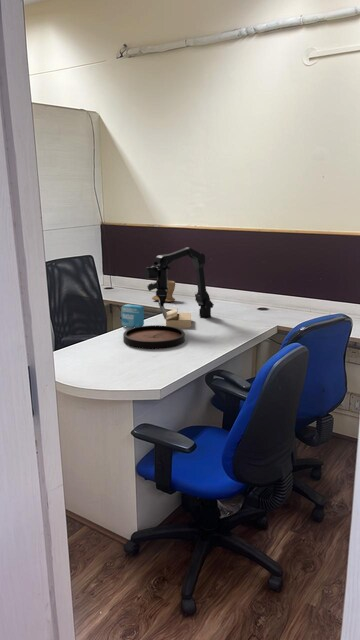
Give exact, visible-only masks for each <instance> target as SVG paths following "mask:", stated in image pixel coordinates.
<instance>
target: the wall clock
mask: <svg viewBox="0 0 360 640" xmlns="http://www.w3.org/2000/svg"><path fill="white" fill-rule="evenodd" d="M185 336H186V334H185V331H184V330H182V328H175V327H170V326H166V325H161V324H160V325H158V324H157V325H152V324H151V325H143V326H140V327H135V328H134V327H130V328H128V329H127V330H125V331H124V332H123V335H122V337H123V343H124V344H125V345H127V346H128V347H131V348H134V349H135V348H136V349H141V350H142V349H143V350H165V349H166V350H167V349H171V348H176V347H179V346H180V345H182V344H184V342H185V340H186V339H185V338H186V337H185Z"/></svg>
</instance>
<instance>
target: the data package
mask: <svg viewBox="0 0 360 640" xmlns="http://www.w3.org/2000/svg"><path fill="white" fill-rule="evenodd" d="M144 308H145V307H144V306H143V305H140V304H128V303H127V304H124V305H122V306H121V312H120V313H121V314H120V315H121V325H122V326H123V327H126V328H134V327H140V326H145V311H144V310H145V309H144Z"/></svg>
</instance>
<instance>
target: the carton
mask: <svg viewBox="0 0 360 640" xmlns="http://www.w3.org/2000/svg"><path fill="white" fill-rule="evenodd" d="M165 326H170V327H175V328H178V329H192V313H191V312H178V313H177V316H176V317H173V318H171V319H168V320H166V319H165Z"/></svg>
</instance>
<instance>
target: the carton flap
mask: <svg viewBox="0 0 360 640" xmlns="http://www.w3.org/2000/svg"><path fill="white" fill-rule="evenodd" d="M164 305H165V304H164ZM164 305H163V307H161V304H160V299H159V301H158V306H159V309H160V311H161V313H162V316H163V318H164V320H165V321H166V320H168V319H171V318H173V317H176V316H177V314H178V313H179V312H178V311H179V310H178V308H174V309H172V310H169V311H167V310H166V308H165V306H164Z"/></svg>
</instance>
